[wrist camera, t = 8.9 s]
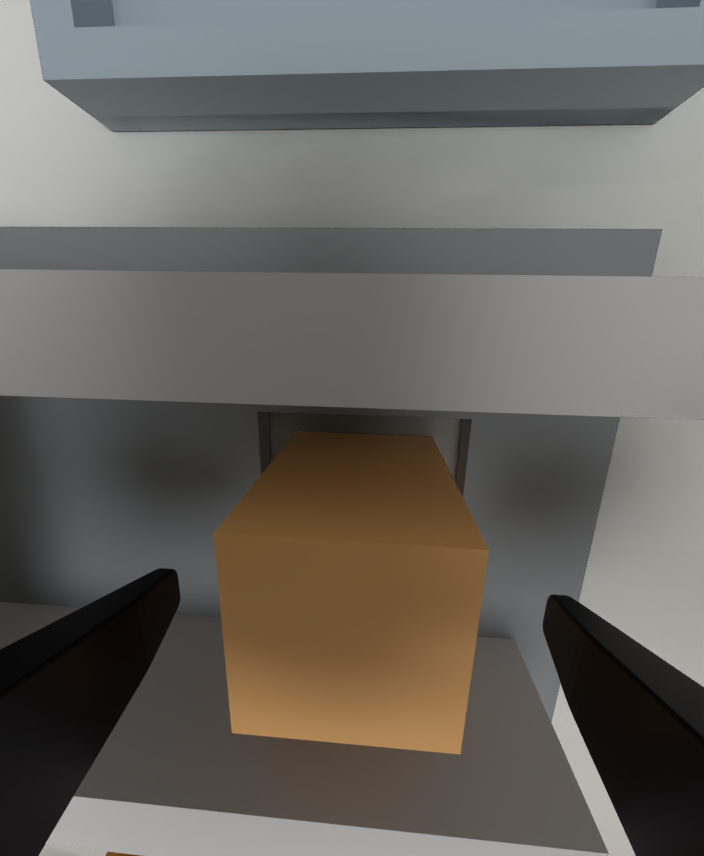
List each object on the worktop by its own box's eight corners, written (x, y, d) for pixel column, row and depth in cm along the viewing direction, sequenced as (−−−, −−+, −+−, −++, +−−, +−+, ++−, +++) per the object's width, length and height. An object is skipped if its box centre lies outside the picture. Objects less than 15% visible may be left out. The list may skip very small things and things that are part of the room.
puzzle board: (632, 239, 11) (1038, 97, 4) (538, 693, 16) (658, 966, 9) (-299, 234, 13) (-1032, 132, 6) (-131, 639, 18) (-442, 828, 11)
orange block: (431, 436, 13) (489, 550, 6) (422, 556, 14) (460, 754, 8) (296, 431, 13) (213, 533, 7) (299, 548, 15) (231, 733, 8)
